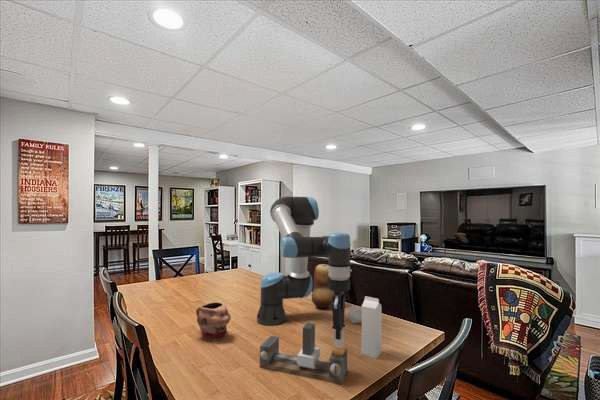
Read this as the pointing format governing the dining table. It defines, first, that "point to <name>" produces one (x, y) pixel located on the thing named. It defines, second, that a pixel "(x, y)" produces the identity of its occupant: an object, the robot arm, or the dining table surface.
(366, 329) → the milk
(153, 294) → the dining table surface
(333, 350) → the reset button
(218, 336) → the decorative planter
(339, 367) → the rail base
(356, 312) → the die
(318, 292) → the butternut squash
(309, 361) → the carriage
